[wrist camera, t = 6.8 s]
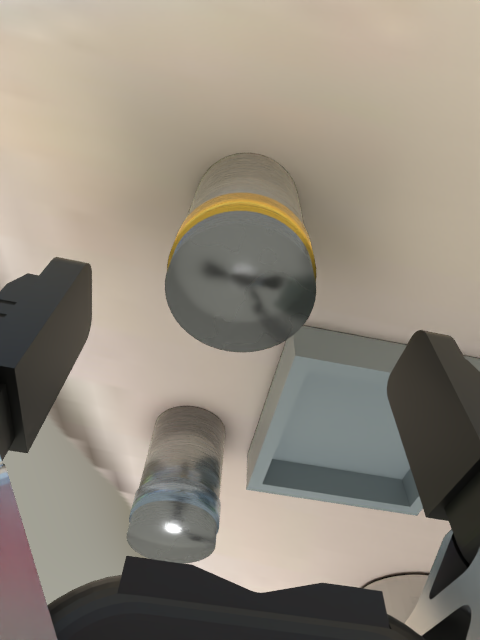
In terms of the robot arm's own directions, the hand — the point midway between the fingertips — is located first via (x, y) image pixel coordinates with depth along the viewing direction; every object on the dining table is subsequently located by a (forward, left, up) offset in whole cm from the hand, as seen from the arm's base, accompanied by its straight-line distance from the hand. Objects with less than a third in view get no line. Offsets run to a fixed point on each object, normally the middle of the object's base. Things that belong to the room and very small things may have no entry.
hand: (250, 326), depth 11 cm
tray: (-11, -9, -9) cm, 17 cm away
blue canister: (-15, +1, -9) cm, 18 cm away
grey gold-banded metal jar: (0, 0, -9) cm, 9 cm away
